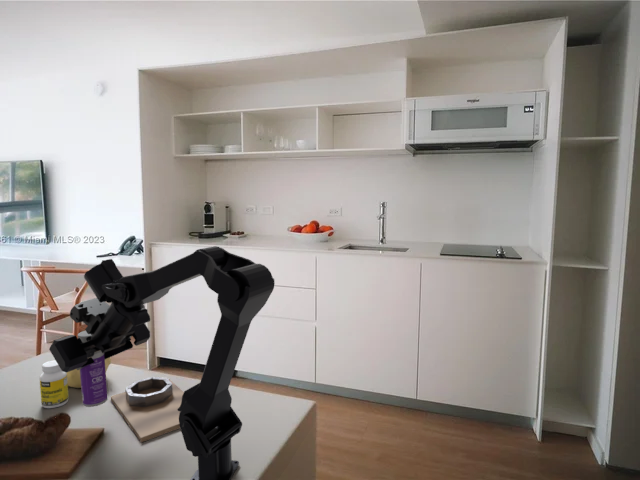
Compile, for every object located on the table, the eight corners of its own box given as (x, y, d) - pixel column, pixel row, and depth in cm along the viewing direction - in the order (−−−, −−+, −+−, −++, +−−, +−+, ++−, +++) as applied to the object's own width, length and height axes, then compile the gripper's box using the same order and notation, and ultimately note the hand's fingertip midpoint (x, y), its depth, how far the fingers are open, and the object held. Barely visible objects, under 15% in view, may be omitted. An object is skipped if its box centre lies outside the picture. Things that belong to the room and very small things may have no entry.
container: (95, 408, 88) (90, 337, 86) (77, 405, 89) (71, 335, 87) (112, 397, 92) (107, 330, 90) (94, 395, 93) (89, 328, 92)
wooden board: (207, 417, 94) (207, 413, 94) (141, 442, 85) (140, 437, 85) (169, 382, 110) (169, 379, 110) (110, 400, 102) (110, 396, 101)
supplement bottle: (38, 410, 97) (34, 369, 96) (46, 399, 102) (42, 359, 101) (65, 407, 98) (61, 366, 97) (71, 396, 104) (68, 357, 102)
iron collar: (157, 408, 96) (156, 397, 95) (118, 404, 97) (117, 394, 97) (178, 388, 105) (178, 378, 105) (142, 385, 107) (142, 375, 106)
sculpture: (72, 397, 103) (68, 354, 102) (51, 383, 110) (47, 343, 109) (118, 380, 112) (116, 340, 111) (96, 368, 119) (93, 331, 118)
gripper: (138, 279, 94) (109, 321, 100) (50, 298, 78) (22, 347, 84) (165, 319, 91) (134, 359, 98) (80, 348, 75) (49, 394, 81)
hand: (88, 363), depth 90 cm, fingers closed on container, 5 cm apart
